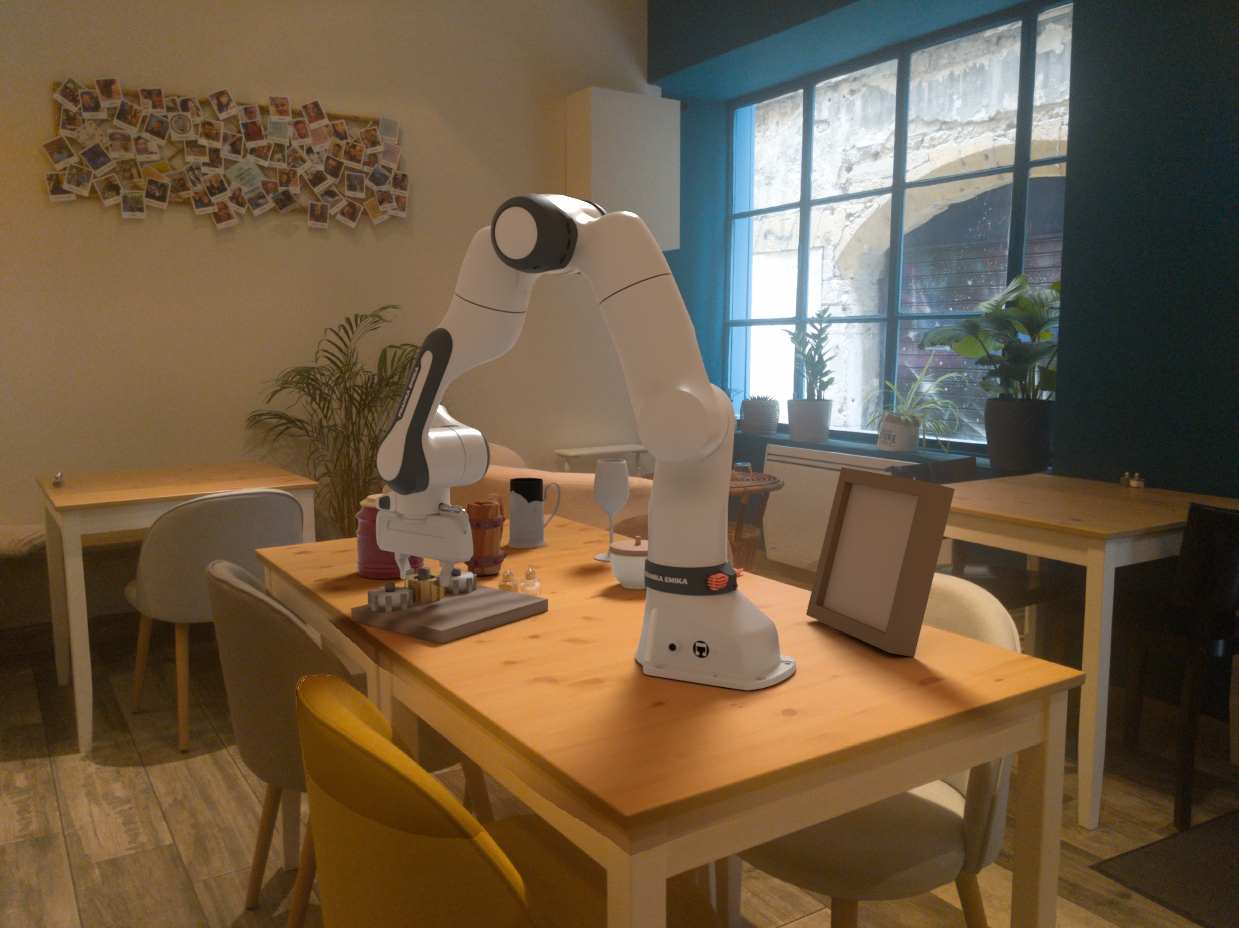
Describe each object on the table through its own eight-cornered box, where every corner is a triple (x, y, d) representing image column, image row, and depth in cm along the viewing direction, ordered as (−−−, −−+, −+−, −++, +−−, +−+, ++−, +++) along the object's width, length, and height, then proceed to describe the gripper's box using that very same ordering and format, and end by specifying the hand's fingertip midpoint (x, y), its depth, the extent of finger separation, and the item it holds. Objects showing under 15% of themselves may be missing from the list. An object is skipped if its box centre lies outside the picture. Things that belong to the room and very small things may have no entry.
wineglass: (635, 557, 203) (636, 460, 201) (616, 563, 197) (617, 463, 195) (606, 553, 207) (606, 458, 205) (586, 559, 201) (586, 460, 199)
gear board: (548, 610, 159) (547, 569, 158) (441, 643, 140) (441, 597, 139) (460, 592, 171) (459, 554, 171) (351, 620, 152) (350, 577, 151)
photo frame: (889, 659, 133) (897, 483, 131) (805, 620, 153) (811, 467, 151) (973, 650, 138) (982, 481, 136) (881, 613, 159) (888, 465, 156)
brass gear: (452, 596, 160) (452, 576, 159) (423, 604, 155) (422, 583, 154) (426, 591, 164) (425, 571, 163) (396, 598, 158) (396, 577, 158)
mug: (495, 579, 181) (495, 502, 180) (455, 577, 183) (454, 500, 181) (518, 564, 195) (518, 492, 194) (481, 562, 197) (480, 490, 195)
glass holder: (499, 544, 217) (499, 479, 215) (548, 536, 227) (548, 474, 225) (522, 549, 211) (522, 483, 209) (571, 541, 220) (571, 478, 219)
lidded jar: (623, 594, 170) (623, 543, 169) (600, 582, 180) (600, 533, 179) (676, 589, 175) (676, 539, 174) (650, 577, 184) (651, 529, 183)
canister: (401, 582, 179) (400, 490, 177) (343, 577, 183) (341, 486, 181) (436, 568, 191) (435, 481, 189) (381, 563, 195) (379, 479, 193)
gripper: (481, 504, 154) (482, 587, 155) (397, 493, 166) (399, 571, 167) (452, 509, 149) (454, 595, 150) (368, 497, 161) (370, 577, 162)
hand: (424, 582), depth 159 cm, fingers open, 7 cm apart
